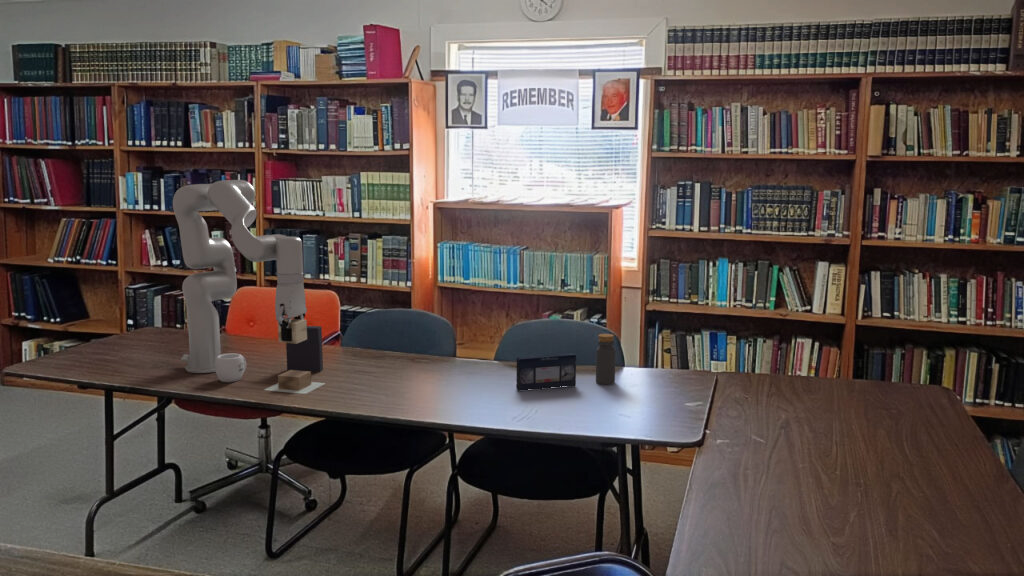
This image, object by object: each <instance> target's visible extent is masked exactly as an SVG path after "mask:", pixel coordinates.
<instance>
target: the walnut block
mask: <svg viewBox="0 0 1024 576" xmlns="http://www.w3.org/2000/svg"><path fill="white" fill-rule="evenodd" d="M311 382H312V372H310V371H298V370H289V371H287V370H286V371H285V372H283V373H281V374H278V375H277V383H278V388H279V389H288V390H299V391H300V390H301V389H303V388H305V387H307V386H309V385H311Z"/></svg>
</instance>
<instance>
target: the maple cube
mask: <svg viewBox="0 0 1024 576" xmlns="http://www.w3.org/2000/svg"><path fill="white" fill-rule="evenodd" d="M285 321H286V322H287V320H285ZM307 324H308V323H307V319H304V320H302V319H294V318H291V324H290V328H292V341H282V340H281V328H280V325H279V323H278V322H277V334H278V343H283V344H286V343H294V344H297V343H300V342H302V341H305V340H307V326H308V325H307Z"/></svg>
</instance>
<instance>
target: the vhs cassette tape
mask: <svg viewBox="0 0 1024 576" xmlns="http://www.w3.org/2000/svg"><path fill="white" fill-rule="evenodd" d="M576 376H577V355H576V353H559V354H556V353H555V354H546V355H536V356H535V355H532V356H531V355H530V356H520V357H516V384H515V386H516V390H517V389H518V390H528V389H540V390H543V389H542V388H551V387H560V386H561V387H562V386H575V387H576V386H577V383H576V382H577V380H576V379H577V377H576ZM518 390H517V391H518ZM528 391H529V390H528Z"/></svg>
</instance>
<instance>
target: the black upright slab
mask: <svg viewBox="0 0 1024 576" xmlns="http://www.w3.org/2000/svg"><path fill="white" fill-rule="evenodd" d="M285 347H286V348H285V350H286V369H287V370H286V372H287V371H289V370H298V371H310V372H311V373H314V372H315V373H321V372H322V371H324V360H323V359H324V358H323V355H324V354H323V329H322V326H321V325H320V326H319V325H307V340H305V341H302V342H300V343H297V344H294V343H285Z"/></svg>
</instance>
